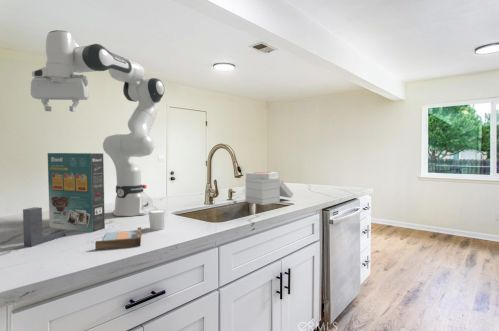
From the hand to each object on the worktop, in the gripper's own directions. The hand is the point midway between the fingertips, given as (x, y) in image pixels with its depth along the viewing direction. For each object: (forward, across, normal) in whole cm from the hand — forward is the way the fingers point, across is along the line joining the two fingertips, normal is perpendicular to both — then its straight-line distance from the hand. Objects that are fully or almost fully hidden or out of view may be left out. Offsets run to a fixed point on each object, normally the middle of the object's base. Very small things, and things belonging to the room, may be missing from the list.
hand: (60, 111), depth 112 cm
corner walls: (+46, -28, +12) cm, 55 cm away
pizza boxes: (+44, -83, -74) cm, 119 cm away
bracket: (+46, -2, +11) cm, 47 cm away
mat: (+46, -28, +9) cm, 54 cm away
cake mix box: (+46, -3, -6) cm, 46 cm away
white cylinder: (+46, -35, -6) cm, 58 cm away
